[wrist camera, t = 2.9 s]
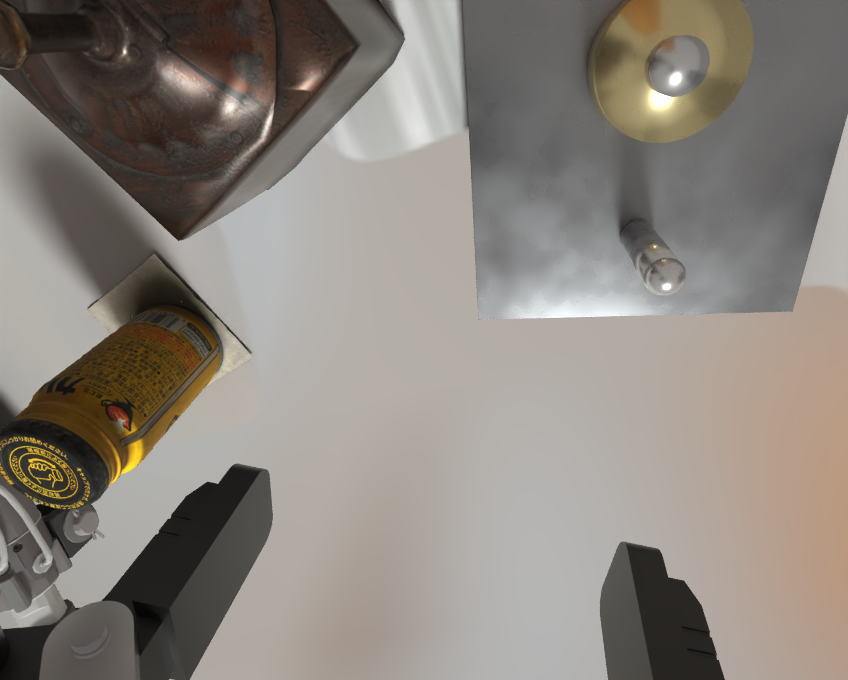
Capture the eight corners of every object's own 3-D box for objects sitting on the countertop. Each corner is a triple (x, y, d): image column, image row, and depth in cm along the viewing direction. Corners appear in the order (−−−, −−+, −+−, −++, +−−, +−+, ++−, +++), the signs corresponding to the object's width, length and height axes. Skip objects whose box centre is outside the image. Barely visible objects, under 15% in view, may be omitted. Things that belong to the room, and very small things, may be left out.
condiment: (184, 400, 37) (60, 541, 26) (88, 309, 34) (-93, 427, 23) (254, 355, 34) (147, 492, 24) (157, 251, 31) (-14, 356, 21)
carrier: (449, -296, 18) (424, -459, 12) (969, -408, 16) (1254, -680, 10) (479, 309, 30) (473, 377, 24) (781, 301, 28) (859, 374, 22)
